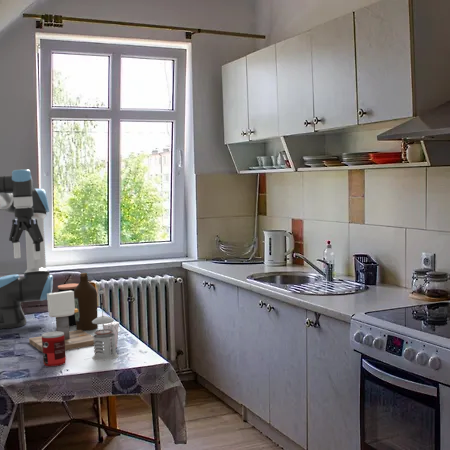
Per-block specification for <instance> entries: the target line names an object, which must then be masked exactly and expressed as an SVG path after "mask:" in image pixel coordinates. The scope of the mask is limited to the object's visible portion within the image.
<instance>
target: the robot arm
mask: <svg viewBox="0 0 450 450" xmlns="http://www.w3.org/2000/svg"><path fill="white" fill-rule="evenodd" d="M31 173H32V172H31V170H30V169H14V170H12V172H11V175H0V211H1V212H4V213H8V214H11V215H14V217H15V219H14V218H13V219H12V221H11V223H12V224H11V229H10V234H9V237H8V241H9V242H11V243H12V248H13V249H12V250H13V259H21V258H22V257H21V256H22V254H21V253H22V252H21V243H20V239H21V236H22V234H23V232H24V231H25V250H26V270H25V271H24V272H23V276H22V277H21V276H20V275H19V274H17V273H15V274H8V275H4V276H1V277H0V329H1V330H3V329H2V328H7V329H14V328H19V327H22V326H25V325H26V324H27V318H26V316H25V313H24V311H23V309H22V303H27V302H29V303H30V302H39V301H40V302H42V301H47V294H49V293H53V286H54V281H53V280H54V276H53V275H52V274H50V270H49V269H48V268H47V264H46V263H47V262H46V261H47V259H46V247H45V246H46V243H45V228H44V227H45V225H44V219H45V218H46V217H47V213H49V212H50V206H49V201H48V197H47V192H46V190H45V189H44V188H35V187H34V184H35V183H34V180H33V178H32V174H31Z"/></svg>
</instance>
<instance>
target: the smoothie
mask: <svg viewBox="0 0 450 450" xmlns="http://www.w3.org/2000/svg"><path fill="white" fill-rule="evenodd" d="M109 317H111V318H113V317H112V312H109ZM112 325H113V326H115V328H116V329H115V328H114V327H113V326H112ZM108 326H110V327H111V328H112V330H113V332H114V335H115V343H116V344H115V349H117V348H118V340H119V339H118V340H117V333H118V334H119V327H120V322H119V321H113V322H111V323H107V324H104V329H108ZM110 327H109V329H111V328H110ZM116 330H117V332H116ZM113 332H112V333H113ZM111 338H112V337H110V339H111ZM116 341H117V342H116ZM110 342H112V340H111V341H110ZM110 345H111V344H110ZM111 349H112V347H111Z"/></svg>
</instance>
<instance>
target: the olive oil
mask: <svg viewBox="0 0 450 450" xmlns="http://www.w3.org/2000/svg"><path fill="white" fill-rule="evenodd" d="M88 276H89V275H88V272H81V273H79V279H80V282H79V283H77V284H78V285H77V287H76V288H75V289H74V302H75V309H78V312H76V313H75V320H76V325H75V329H76V330H82V331H84V332H87V331H93V330H96V329H97V330H98V327H99V324H93V323H92V321H93V320H94V319H96V318H97V317H98V292H97V291H98V290H97V289H96V287H95V286H94V285H93V284H91V282H90V281H89V277H88Z"/></svg>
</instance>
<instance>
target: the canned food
mask: <svg viewBox="0 0 450 450" xmlns="http://www.w3.org/2000/svg"><path fill="white" fill-rule="evenodd" d="M41 336H42V349H43V352H42V359H43V360H42V361H43V362H42V363H43V365H44V366H45V367H58V366H62V365H65V364H66V361H67V359H66V358H67V356H66V355H67V353H66V350H65V337H64V332H60V331H57V330H55V331H48V332H44V333H42V334H41Z"/></svg>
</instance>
